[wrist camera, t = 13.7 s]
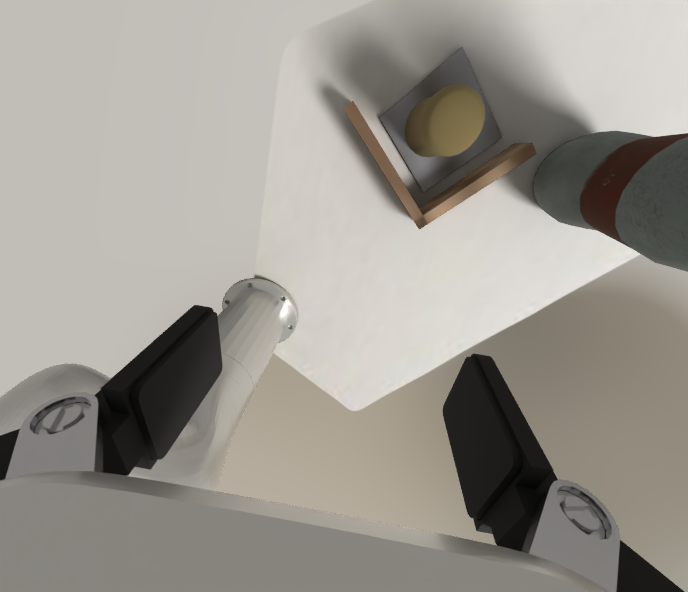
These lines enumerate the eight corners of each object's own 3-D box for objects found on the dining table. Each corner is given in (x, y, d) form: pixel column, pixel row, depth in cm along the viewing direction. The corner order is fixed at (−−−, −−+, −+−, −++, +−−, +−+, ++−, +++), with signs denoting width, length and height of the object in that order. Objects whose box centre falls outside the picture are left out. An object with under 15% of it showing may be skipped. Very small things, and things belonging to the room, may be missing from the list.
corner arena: (415, 221, 37) (419, 229, 34) (347, 113, 32) (343, 109, 29) (519, 152, 32) (536, 153, 29) (458, 11, 27) (470, -8, 24)
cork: (404, 160, 33) (416, 166, 24) (405, 99, 31) (418, 78, 21) (456, 154, 33) (490, 159, 23) (462, 92, 30) (503, 67, 20)
